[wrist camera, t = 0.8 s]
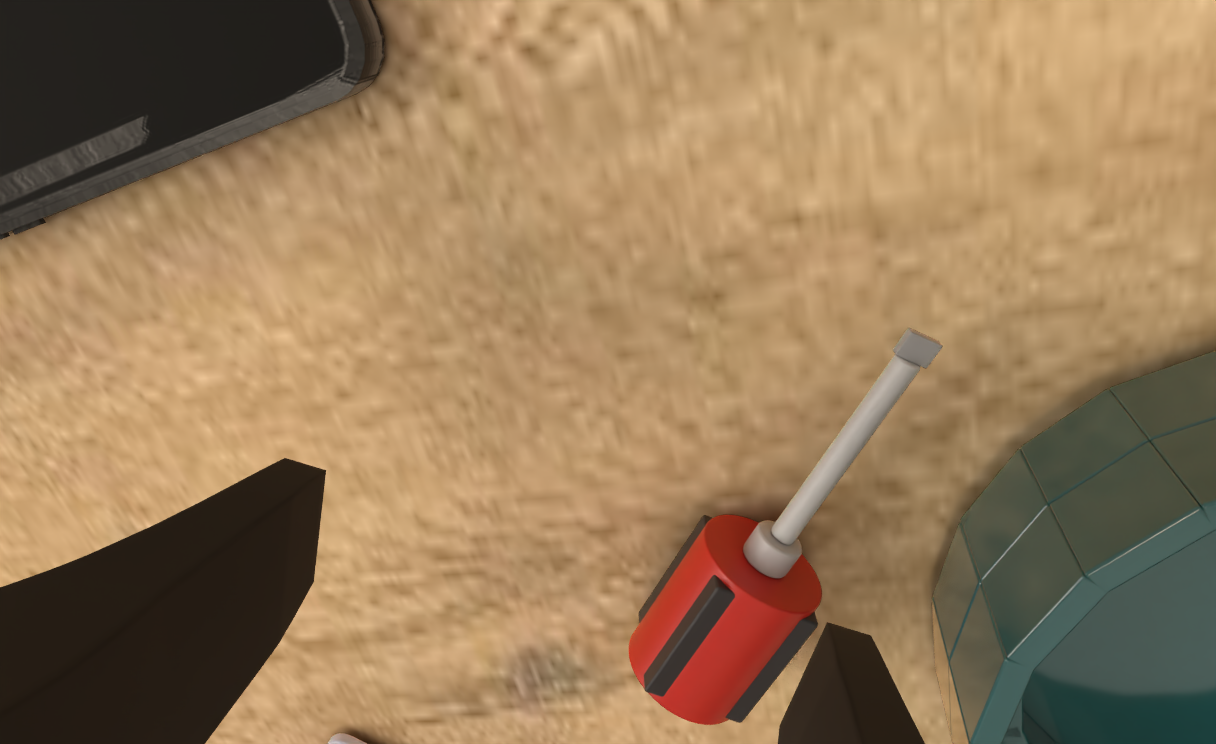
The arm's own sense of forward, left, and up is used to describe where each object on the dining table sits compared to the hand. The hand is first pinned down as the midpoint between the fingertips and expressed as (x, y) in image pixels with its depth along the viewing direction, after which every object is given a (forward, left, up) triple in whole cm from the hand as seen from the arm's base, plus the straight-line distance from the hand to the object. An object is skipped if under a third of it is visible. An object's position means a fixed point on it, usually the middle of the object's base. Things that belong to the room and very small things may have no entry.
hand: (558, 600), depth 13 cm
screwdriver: (-2, -5, -10) cm, 11 cm away
